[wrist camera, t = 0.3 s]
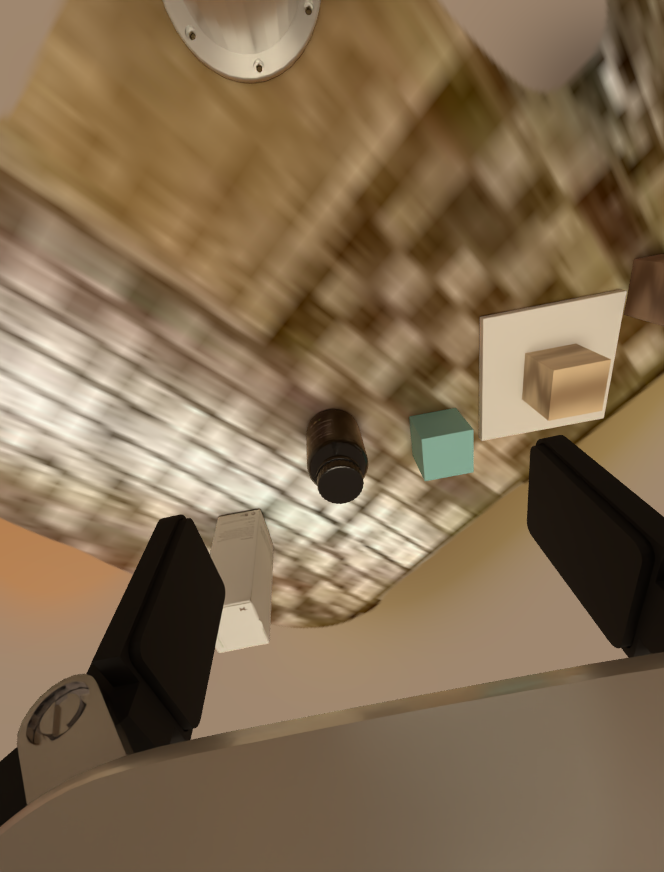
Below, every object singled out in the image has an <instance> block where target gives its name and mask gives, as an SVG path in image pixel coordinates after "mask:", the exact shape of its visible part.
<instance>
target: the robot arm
mask: <svg viewBox="0 0 664 872" xmlns="http://www.w3.org/2000/svg"><path fill="white" fill-rule="evenodd" d="M163 3H164V6H165V9H166V11H167V13H168V15H169V17H170V19H171V21H172V23H173V25H174V27H175V29H176V31H177V32H178V34H179V35H180V37H181V38H182V40H183V42H184V43H185V44H186V45H187V46H188V48H189V49H190V50H191V51H192V53H193V54H194V55H195V56H196V57H197V58H198V59H199V60H200V61H201V62H202V63H204V64H205V65H206V66H207V67H208V68H209V69H211V70H213V71H214V72H216V73H218V74H219V75H221V76H223V77H225V78H228V79H231V80H234V81H237V82H246V83H255V82H262V81H267V80H269V79H271V78H274V77H276V76H279V75H280V74H281V73H283V72H284V71H285V70H287V69H288V68H289V67H291V66H292V65H293V63H294V62H295V61H296V60H297V59H298V58H299V57H300V55H301V54H302V52H303V51H304V49H305V47H306V46H307V44H308V42H309V41H310V38H311V36H312V33H313V30H314V28H315V25H316V22H317V18H318V13H319V8H320V4H321V0H163ZM307 8H309V9H310V10H311V12H312V13H311V14H310V15H307V14H306V12H305V11H306V9H307ZM192 33H193V34H195V35H196V38H195V39H194V40H191V39H190V35H191V34H192ZM257 66H261V67H262V72H258V71H257V70H256V68H257ZM527 526H528V529H529V531H530V534H531V535H532V537H533V538H534V540H535V541H536V542H537V544H538V545H539V546H540V548H541V549H542V551H543V552H544V553H545V555H546V556H547V557H548V559H549V560H550V561H551V563H552V564H553V566H554V567H555V568H556V569H557V571H558V572H559V574H560V575H561V576H562V578H563V579H564V581H565V582H566V583H567V585H568V586H569V587H570V588H571V590H572V591H573V593H574V594H575V595H576V597H577V598H578V600H579V601H580V602H581V604H582V605H583V606H584V608H585V609H586V610H587V612H588V613H589V614H590V616H591V617H592V619H593V620H594V621H595V623H596V624H597V625H598V627H599V628H600V630H601V631H602V632H603V634H604V635H605V636H606V638H607V639H608V640H609V642H610V643H611V644H612V645H613V646H614V647H616V648H622V649H623V651H624V652H625V653H626V655H627V656H628V657H629V658H625V659H618V660H612V661H606V662H601V663H594V664H588V665H582V666H577V667H571V668H566V669H560V670H555V671H549V672H544V673H539V674H533V675H527V676H522V677H516V678H511V679H505V680H500V681H495V682H489V683H483V684H478V685H472V686H467V687H462V688H456V689H451V690H446V691H440V692H435V693H430V694H424V695H419V696H413V697H408V698H403V699H397V700H392V701H387V702H382V703H376V704H371V705H366V706H360V707H355V708H350V709H345V710H340V711H334V712H329V713H324V714H318V715H314V716H308V717H303V718H298V719H293V720H288V721H282V722H277V723H272V724H267V725H262V726H257V727H251V728H246V729H241V730H236V731H231V732H226V733H221V734H217V735H212V736H207V737H202V738H198V739H193V740H190V739H191V735H192V730H193V728H196V727H197V726H198V724H199V723H200V719H201V715H202V710H203V705H204V700H205V695H206V689H207V685H208V680H209V675H210V670H211V665H212V660H213V655H214V650H215V645H216V640H217V635H218V630H219V625H220V620H221V615H222V610H223V605H224V601H225V586H224V583H223V581H222V579H221V577H220V575H219V573H218V570H217V568H216V566H215V564H214V562H213V560H212V558H211V556H210V554H209V552H208V550H207V548H206V546H205V544H204V542H203V540H202V538H201V536H200V534H199V532H198V530H197V528H196V526H195V524H194V522H193V520H192V519H191V518H187V519H186V517H185V516H184V515H176V516H171V517H167V518H162V519H160V520H159V522H158V523H157V526H156V528H155V530H154V532H153V534H152V536H151V538H150V540H149V542H148V544H147V547H146V549H145V551H144V553H143V555H142V557H141V559H140V561H139V563H138V566H137V568H136V570H135V572H134V574H133V576H132V578H131V580H130V583H129V584H128V587H127V589H126V591H125V593H124V595H123V597H122V599H121V602H120V604H119V606H118V608H117V610H116V612H115V614H114V616H113V618H112V620H111V623H110V625H109V627H108V629H107V631H106V633H105V635H104V637H103V639H102V641H101V643H100V646H99V648H98V650H97V652H96V654H95V656H94V658H93V661H92V663H91V665H90V668H89V670H88V672H87V674H78V675H73V676H71V677H68V678H66V679H63V680H62V681H60V682H58V683H57V684H55V685H54V686H52V687H51V688H50V689H49V690H47V691H46V692H45V693H44V694H43V695H42V696H40V697H39V699H38V700H37V701H36V702H35V703H34V705H33V706H32V707H31V708H30V709H29V711H28V713H27V714H26V716H25V717H24V719H23V721H22V723H21V726H20V728H19V731H18V735H17V748H15V749H14V750H13V751H12V752H11V753H10V754H8V755H7V756H6V757H5V758H4V759H3V760H1V761H0V872H664V517H663V516H662V515H661V514H659V513H658V512H657V511H656V510H655V509H653V508H652V507H651V506H650V505H648V504H647V503H646V502H645V501H643V500H642V499H641V498H640V497H639V496H637V495H636V494H635V493H634V492H632V491H631V490H630V489H629V488H627V487H626V486H625V485H624V484H623V483H621V482H620V481H619V480H618V479H616V478H615V477H614V476H613V475H612V474H610V473H609V472H608V471H607V470H605V469H604V468H603V467H602V466H600V465H599V464H598V463H597V462H596V461H594V460H593V459H592V458H591V457H589V456H588V455H587V454H586V453H585V452H583V451H582V450H581V449H580V448H578V447H577V446H576V445H575V444H574V443H572V442H571V441H570V440H569V439H567V438H566V437H565V436H563V435H557V436H553V437H548V438H543V439H539V440H538V441H537V443H536V446H533V447H532V448H531V451H530V469H529V490H528V511H527Z"/></svg>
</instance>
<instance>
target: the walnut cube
mask: <svg viewBox="0 0 664 872" xmlns="http://www.w3.org/2000/svg"><path fill="white" fill-rule="evenodd" d="M624 315H627V316H631V317H634V318H638V319H641V320H644V321H648V322H651V323H654V324H658V325H661V326H664V253H663V254H658V255H653V256H648V257H643V258H638V259H634V263H633V268H632V273H631V279H630V284H629V290H628V295H627V301H626V306H625V311H624Z"/></svg>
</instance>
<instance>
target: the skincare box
mask: <svg viewBox="0 0 664 872" xmlns="http://www.w3.org/2000/svg"><path fill="white" fill-rule="evenodd" d="M273 550H274V547H273V544H272V541H271V538H270V535H269V532H268V529H267V526H266V523H265V520H264V518H263V515H262V512H261V510H260V509H259V510H253V511H247V512H241V513H236V514H231V515H226V516H221V517H218V521H217V525H216V529H215V534H214V538H213V543H212V547H211V551H210V556H211V558H212V560H213V562H214V564H215V566H216V568H217V570H218V573H219V575H220V577H221V579H222V581H223V583H224V586H225V601H224V605H223V610H222V615H221V620H220V625H219V630H218V635H217V640H216V645H215V647H216V649H217V651H218V652H219V653H222V652H227V651H232V650H237V649H242V648H247V647H251V646H257V645H262V644H268V643H269V642H270V619H271V595H272V570H273Z"/></svg>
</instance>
